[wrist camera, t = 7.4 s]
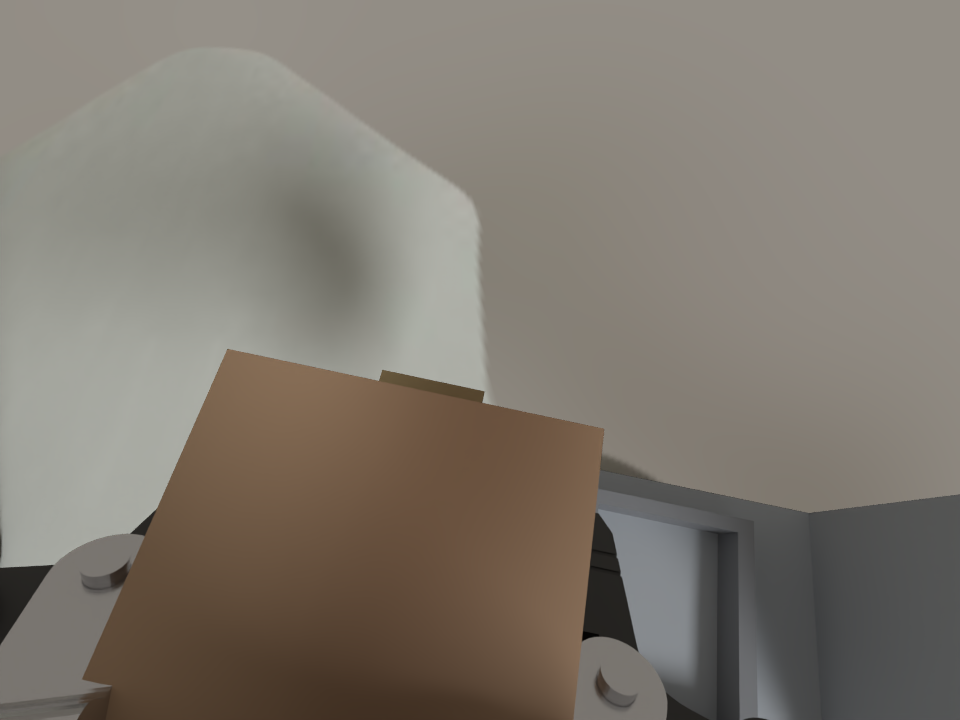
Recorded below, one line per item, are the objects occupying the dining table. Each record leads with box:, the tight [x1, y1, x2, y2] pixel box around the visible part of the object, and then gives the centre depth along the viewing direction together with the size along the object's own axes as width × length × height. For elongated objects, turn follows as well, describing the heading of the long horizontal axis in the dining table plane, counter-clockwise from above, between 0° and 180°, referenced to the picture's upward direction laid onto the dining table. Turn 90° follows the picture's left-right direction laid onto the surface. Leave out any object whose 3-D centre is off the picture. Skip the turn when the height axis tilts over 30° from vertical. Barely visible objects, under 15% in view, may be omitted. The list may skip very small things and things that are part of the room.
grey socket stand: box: [595, 470, 960, 720], centre depth 16 cm, size 16×13×21 cm
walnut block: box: [82, 349, 604, 720], centre depth 10 cm, size 5×6×9 cm
